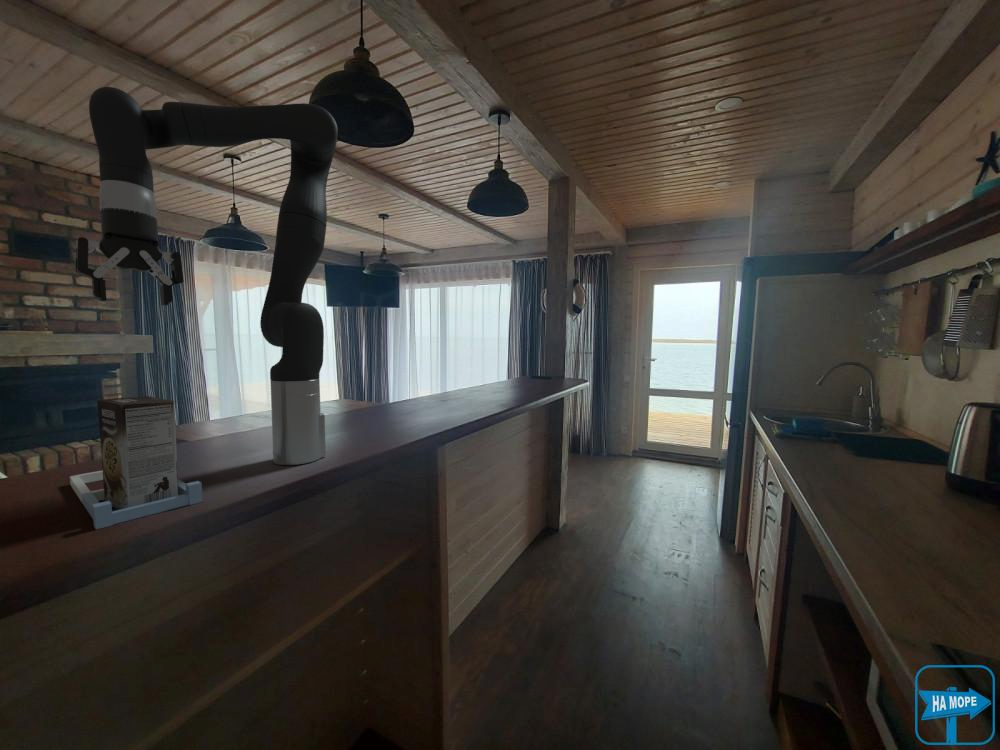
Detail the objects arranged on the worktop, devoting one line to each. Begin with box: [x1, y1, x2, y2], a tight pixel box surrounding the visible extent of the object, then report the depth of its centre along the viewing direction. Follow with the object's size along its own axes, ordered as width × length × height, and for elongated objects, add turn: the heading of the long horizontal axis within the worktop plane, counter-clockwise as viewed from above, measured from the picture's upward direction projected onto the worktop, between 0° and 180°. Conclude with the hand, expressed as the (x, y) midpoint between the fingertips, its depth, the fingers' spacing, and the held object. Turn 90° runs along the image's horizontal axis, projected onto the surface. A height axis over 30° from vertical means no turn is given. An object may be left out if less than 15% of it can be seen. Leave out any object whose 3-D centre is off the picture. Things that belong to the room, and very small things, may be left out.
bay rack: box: [69, 470, 203, 530], centre depth 64 cm, size 12×27×3 cm, turn 53°
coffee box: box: [96, 396, 179, 510], centre depth 60 cm, size 9×6×16 cm
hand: (135, 303), depth 72 cm, fingers open, 8 cm apart
